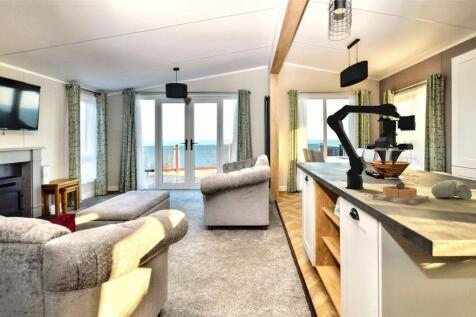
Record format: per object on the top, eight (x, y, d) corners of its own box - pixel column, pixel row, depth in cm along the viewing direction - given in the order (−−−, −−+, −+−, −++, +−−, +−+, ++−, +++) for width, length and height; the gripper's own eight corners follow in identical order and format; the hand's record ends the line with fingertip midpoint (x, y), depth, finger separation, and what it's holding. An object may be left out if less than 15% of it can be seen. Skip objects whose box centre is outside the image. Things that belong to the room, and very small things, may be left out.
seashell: (437, 181, 109) (430, 175, 118) (433, 200, 110) (426, 192, 120) (477, 186, 104) (466, 178, 113) (473, 205, 106) (462, 197, 115)
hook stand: (373, 198, 114) (373, 181, 114) (389, 194, 122) (389, 178, 121) (412, 205, 102) (413, 186, 102) (428, 200, 109) (428, 182, 109)
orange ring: (378, 195, 114) (378, 187, 113) (392, 191, 120) (392, 184, 120) (407, 199, 105) (407, 191, 104) (420, 195, 111) (420, 188, 111)
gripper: (359, 132, 131) (359, 165, 132) (401, 130, 115) (400, 168, 116) (373, 132, 137) (372, 163, 138) (414, 130, 122) (413, 166, 123)
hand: (388, 165), depth 129 cm, fingers open, 4 cm apart
